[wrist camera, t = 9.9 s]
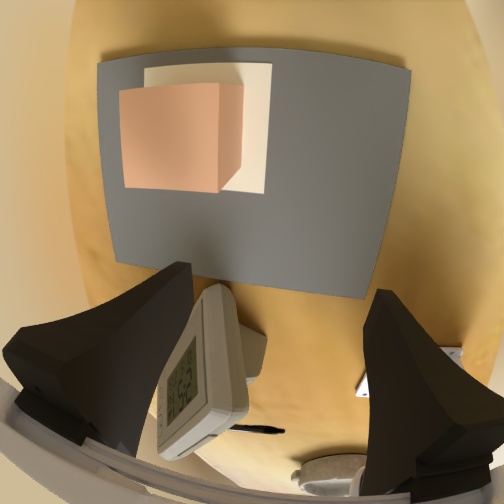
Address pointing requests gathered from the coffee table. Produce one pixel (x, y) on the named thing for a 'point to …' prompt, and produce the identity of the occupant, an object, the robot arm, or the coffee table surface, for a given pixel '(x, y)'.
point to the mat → (268, 169)
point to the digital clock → (207, 375)
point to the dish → (329, 475)
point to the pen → (257, 429)
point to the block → (181, 136)
